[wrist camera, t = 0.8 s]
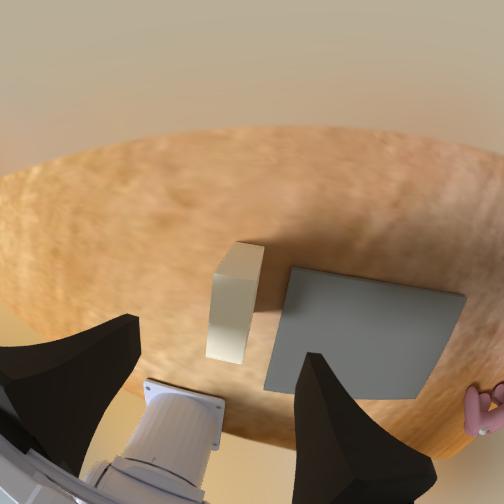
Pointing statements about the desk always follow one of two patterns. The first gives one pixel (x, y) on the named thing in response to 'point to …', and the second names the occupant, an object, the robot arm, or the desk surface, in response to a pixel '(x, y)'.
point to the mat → (362, 333)
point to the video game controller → (483, 411)
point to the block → (233, 302)
